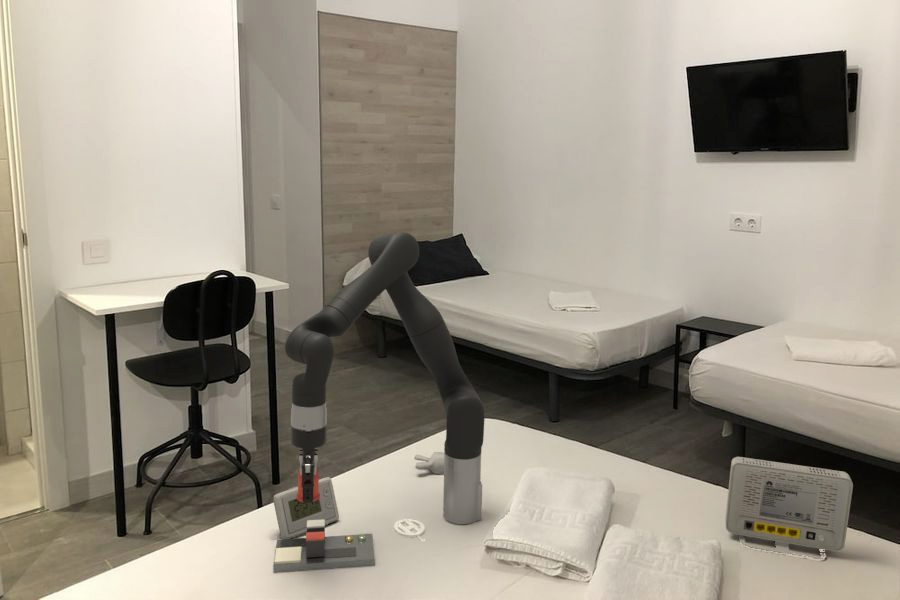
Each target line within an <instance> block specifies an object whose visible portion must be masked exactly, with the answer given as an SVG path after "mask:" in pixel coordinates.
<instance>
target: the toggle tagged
mask: <svg viewBox="0 0 900 600" xmlns="http://www.w3.org/2000/svg"><path fill="white" fill-rule="evenodd" d="M305 538H306V558H309V557H323V556H325V539H324V531H323V532H308V533H305Z"/></svg>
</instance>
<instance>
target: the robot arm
mask: <svg viewBox="0 0 900 600" xmlns="http://www.w3.org/2000/svg"><path fill="white" fill-rule="evenodd" d="M367 249H368V250H367V254H368V261H369V262H370V267H368V268H367V269H366V270H365V271H364V272H362V273H361V274H359V276H357V277H356V278H355V279H353V280H352V281H350V282H349V283H347V284H346V285H345V286H344V287H343V288H342V289H340V290H339V291H338V292H337V293H336V294H335V295H334V296H333V297H332V298H331V299H330V300H329V301H328V302H327V304H325V305H324V307H323V308H322V309H321V310H320V311H319V312H318V313H315V314H314V315H313V316H310V317H309V318H307V319H306V320H304V321H303V322H301V323H300V324H298V325H297V326H296V327H295V328H294V329H293V330H292V331H291V332H290V333H289V334H288V337H287V339H286V341H285V344H284V349H285V354H286V356H287V357H288V358H289V359H291V361H294V362H298V363H300V364H303V365H306V367H305V372H302V373H298V374H297V375H295V376H294V377H293V379H292V384H291V385H292V388H291V389H292V390H291V395H292V396H291V400H292V401H291V409H290V443H291V445H292V446H293V447H295V448H297V449H299V453H298V461H299V470H300V475H301V476H302V484H301V486H302V488H303V502H304V503H309V502H313V487H314V475H316V469H317V462H318V459H319V456H318V455H319V448H321V447H323V446H324V445H325V444H326V442H327V429H328V428H327V427H328V426H327V424H328V423H327V418H328V415H327V414H328V413H327V412H328V411H327V409H328V408H327V402H326V401H327V395H326V394H327V382H328V378H329V375H330V371H331V368H332V365H333V361H334V357H335V347H334V344H333V340H332V339H331V338H334V337H341V336H343V335H345V333H346V332H347V331H348V330H349V329H350V328H351V326H353V324H354V323H355V322H356V321H357V320H358V319H359V317H360V316H361V315H362V314H363V313H364V311H365V310H367V308H368V307H369V306H371V304H372V303H373V302H374V301H375V300H376V299H377V298H378V297H379V296H380V295H381V294H382V293H383V292H384V291H386V293H387V294H388V295H389V297H390V300H391V301H392V303H393V306H394V308H395V309H396V312H397V314H398V316H399V317H400V318H399V319H400V320H401V321H402V323H403V326H404V328H405V330H406V334H407V335H408V337H409V340H410V342H411V344H412V345H413V348H414V349H415V350H414V351H416V354H417V355H418V357H419V358H420V360H421V362H422V363H423V364H424V366H425V367H426V368H427V370H428V371H429V372H430V374H431V376H432V377H433V379H434V381H435V384H436V386H437V389H438V392H439V396H440V398H441V402H442V405H443V409H444V413H445V415H446V424H445V425H446V426H445V427H446V428H445V429H446V430H445V433H446V434H445V441H444V443H443V444H444V451H443V453H444V474H443V498H442V499H443V503H442V504H443V505H442V516H443V518H444V520H446V521H447V522H449V523H452V524H455V525H468V524H473V523H475V522H476V521H481V520H482V511H483V508H482V507H483V506H482V505H483V483H482V481H481V480H482V479H481V478H482V477H481V475H482V474H481V472H482V466H481V465H482V448H483V445H484V444H483V443H484V438H485V437H484V435H485V408H484V405H483V403H482V400H481V399H480V396H479V394H478V393H477V392H476V390H475V389H474V387H473V385H472V384H471V382H470V380H469V379H468V378H467V375H466V374H465V372H464V371H463V368H462V366H461V364H460V362H459V359H458V355H457V351H456V347H455V344H454V341H453V338H452V336H451V333H450V331H449V329H448V326H447V324H446V322H445V320H444V318H443V316H442V314H441V312H440V310H439V309H438V308H437V307H436V306H435V305H434V304H433V303H432V302H431V301H430V300H429V299H428V298H427V297H426V296H425V295H424V294H423V293H422V292H421V291H419V289H418V288H417V287H416V286H415V284H414V282H413V281H412V279H411V277H410V276H409V273H408V271H409V270H410V269H412V267H414V266H415V265H416V263H417V262H418V261H419V257H420V245H419V243H418V241H417V239H416V238H415V237H414V236H413V235H412V234H411V233H408V232H405V231H396V232H392V233H388V234H384V235H381V236H378V237H375V238H374V239H373V240H371V242H370V243H369V246H368V248H367ZM305 479H311V481H305Z"/></svg>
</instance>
